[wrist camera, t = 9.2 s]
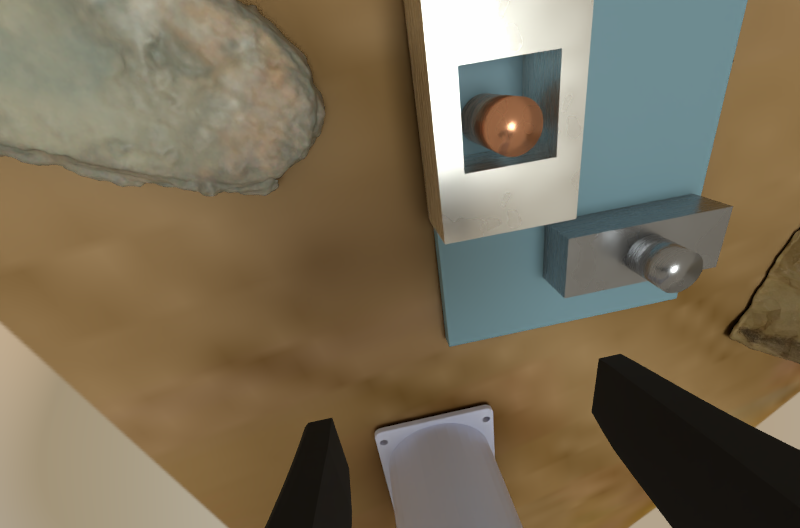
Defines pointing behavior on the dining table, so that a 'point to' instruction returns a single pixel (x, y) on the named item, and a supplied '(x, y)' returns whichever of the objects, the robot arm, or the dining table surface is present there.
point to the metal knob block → (636, 246)
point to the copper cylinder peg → (502, 123)
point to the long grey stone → (155, 93)
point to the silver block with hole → (541, 81)
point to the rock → (775, 309)
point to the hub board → (601, 156)
